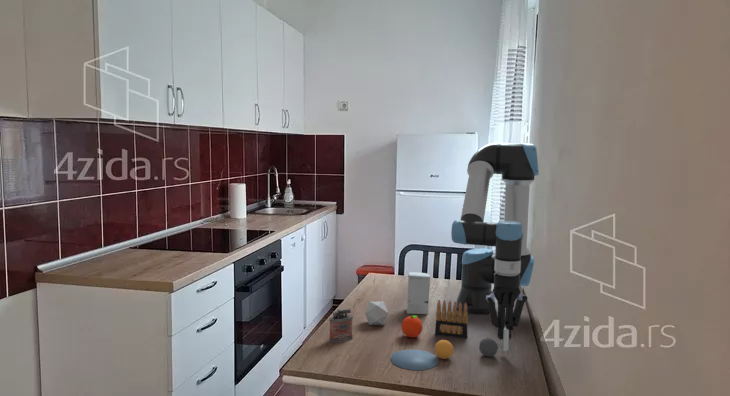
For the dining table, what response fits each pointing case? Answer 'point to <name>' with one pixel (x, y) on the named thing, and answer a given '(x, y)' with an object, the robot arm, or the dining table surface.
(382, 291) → the dining table surface
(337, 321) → the lighter
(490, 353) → the dark grey sphere
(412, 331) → the clementine
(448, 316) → the ammunition clip
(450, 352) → the orange ball
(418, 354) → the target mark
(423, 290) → the skincare box
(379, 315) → the die
